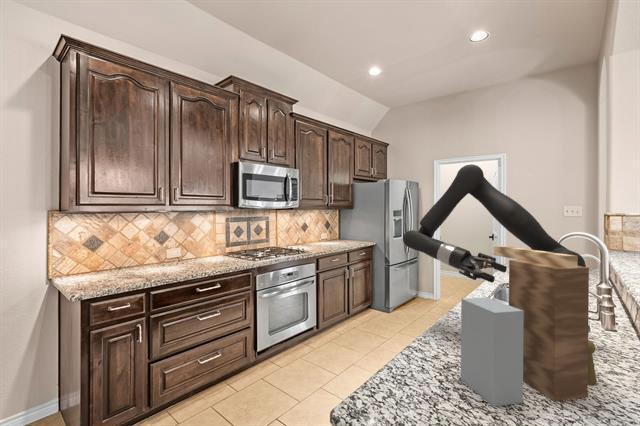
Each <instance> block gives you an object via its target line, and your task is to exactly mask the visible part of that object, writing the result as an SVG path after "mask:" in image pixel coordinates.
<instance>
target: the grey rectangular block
mask: <svg viewBox="0 0 640 426" xmlns="http://www.w3.org/2000/svg"><path fill="white" fill-rule="evenodd" d="M460 301H461V307H460V309H461V310H460V311H461V313H460V316H461V317H460V318H461V319H460V320H461V321H460V381H462V382H463V383H464V384H465V385H467V386H468V387H469V388H470V389H471V390H472V391H474V392H475V393H476V394H478V395H479V396H480V397H481V398H483V399H484V400H485V401H486V402H487V403H488V404H490V405H492V407H493V408H494V407H495V408H496V407H501V406H502V407H503V406H509V405H517V404H522V403H523V402H524V394H523V393H524V382H523V325H524V311H523V310H520V309H517V308H515V307H512V306H509V304H506V303H503V302H500V301H499V300H498V301H497V300H496V299H492V298H490V297H471V298H470V297H469V298H467V297H466V298H461V300H460Z"/></svg>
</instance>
